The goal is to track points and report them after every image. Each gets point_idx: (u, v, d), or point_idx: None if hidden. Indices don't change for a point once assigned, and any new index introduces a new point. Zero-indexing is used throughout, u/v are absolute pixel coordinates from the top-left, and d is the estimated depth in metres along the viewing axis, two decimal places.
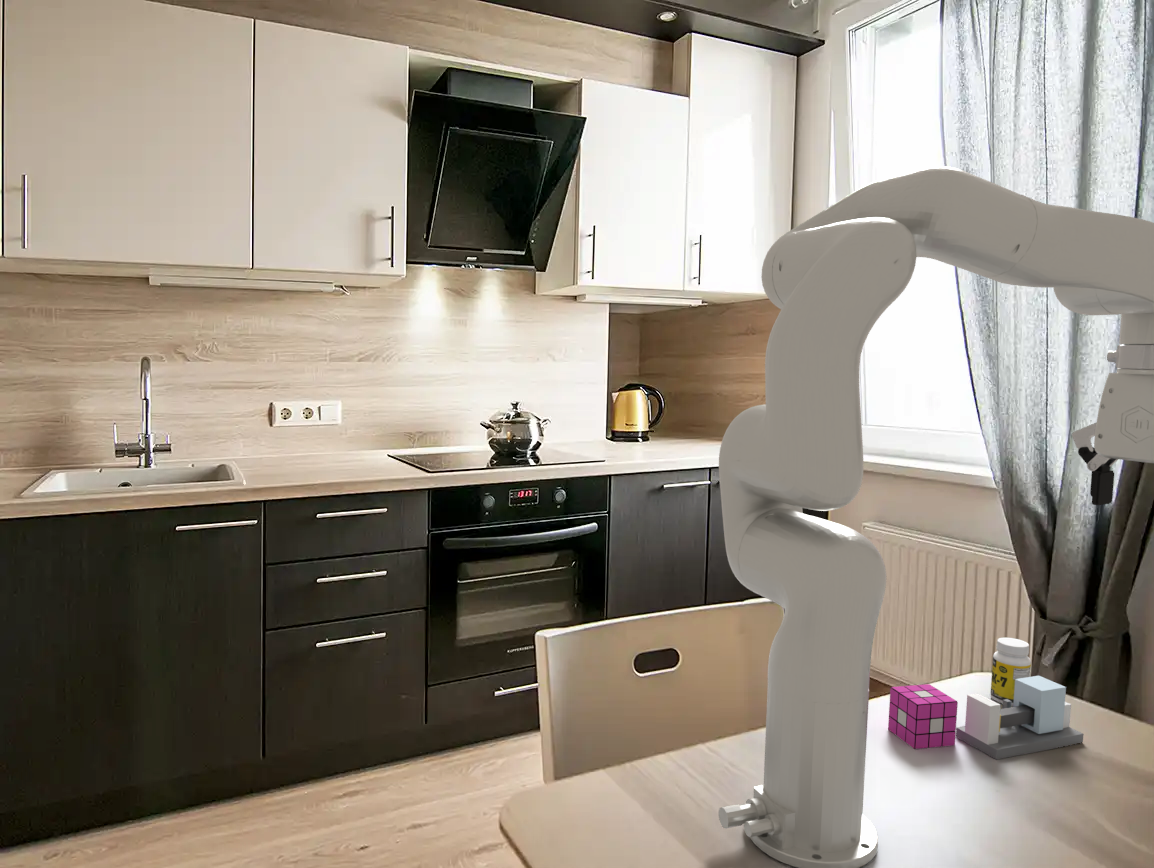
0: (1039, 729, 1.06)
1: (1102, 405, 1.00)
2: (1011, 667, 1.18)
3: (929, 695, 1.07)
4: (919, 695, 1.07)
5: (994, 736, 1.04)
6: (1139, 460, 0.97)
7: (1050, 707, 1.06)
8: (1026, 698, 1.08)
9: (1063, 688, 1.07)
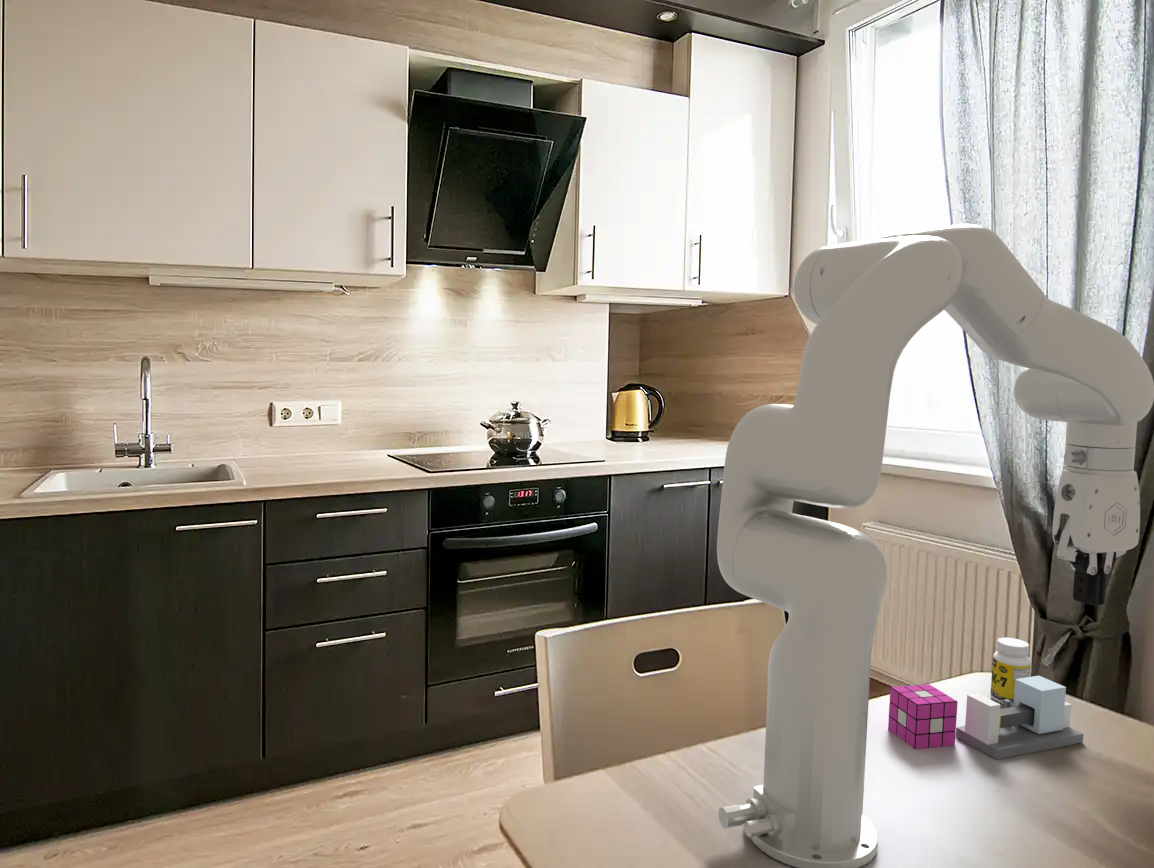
0: (1039, 729, 1.06)
1: (1088, 505, 1.05)
2: (1011, 667, 1.18)
3: (929, 695, 1.07)
4: (919, 695, 1.07)
5: (994, 736, 1.04)
6: (1112, 550, 1.07)
7: (1050, 707, 1.06)
8: (1026, 698, 1.08)
9: (1063, 688, 1.07)
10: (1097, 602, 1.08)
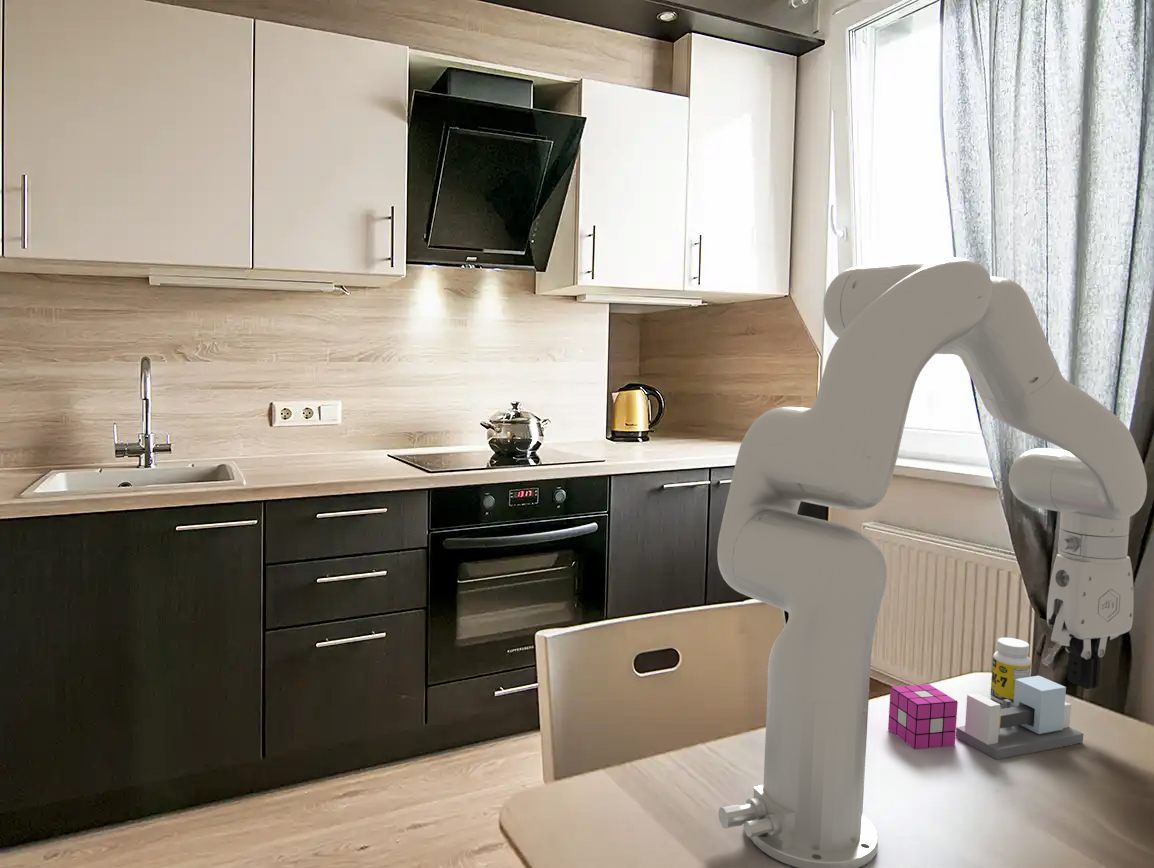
0: (1039, 729, 1.06)
1: (1082, 593, 1.06)
2: (1011, 667, 1.18)
3: (929, 695, 1.07)
4: (919, 695, 1.07)
5: (994, 736, 1.04)
6: (1106, 636, 1.08)
7: (1050, 707, 1.06)
8: (1026, 698, 1.08)
9: (1063, 688, 1.07)
10: (1091, 686, 1.09)
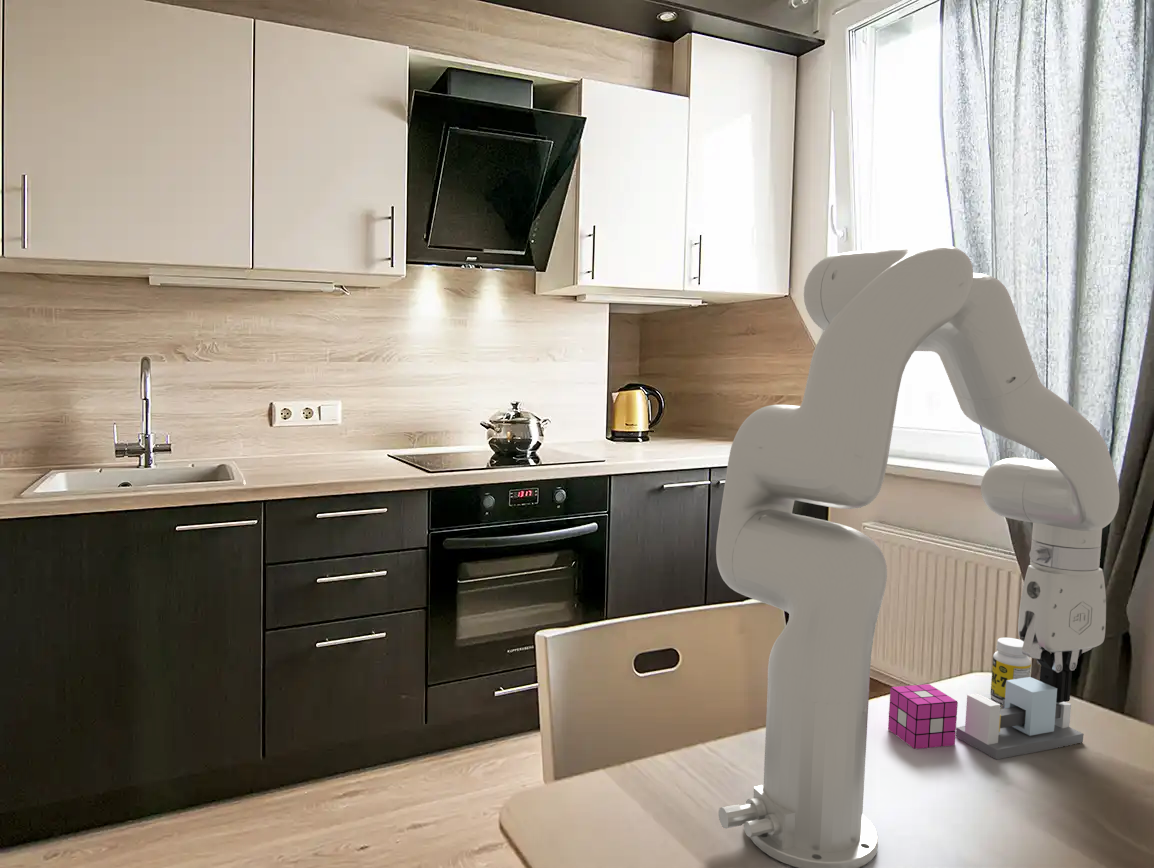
0: (1030, 731, 1.06)
1: (1053, 605, 1.04)
2: (1011, 667, 1.18)
3: (929, 695, 1.07)
4: (919, 695, 1.07)
5: (994, 736, 1.04)
6: (1077, 649, 1.06)
7: (1041, 709, 1.06)
8: (1017, 699, 1.07)
9: (1054, 689, 1.06)
10: (1062, 699, 1.08)
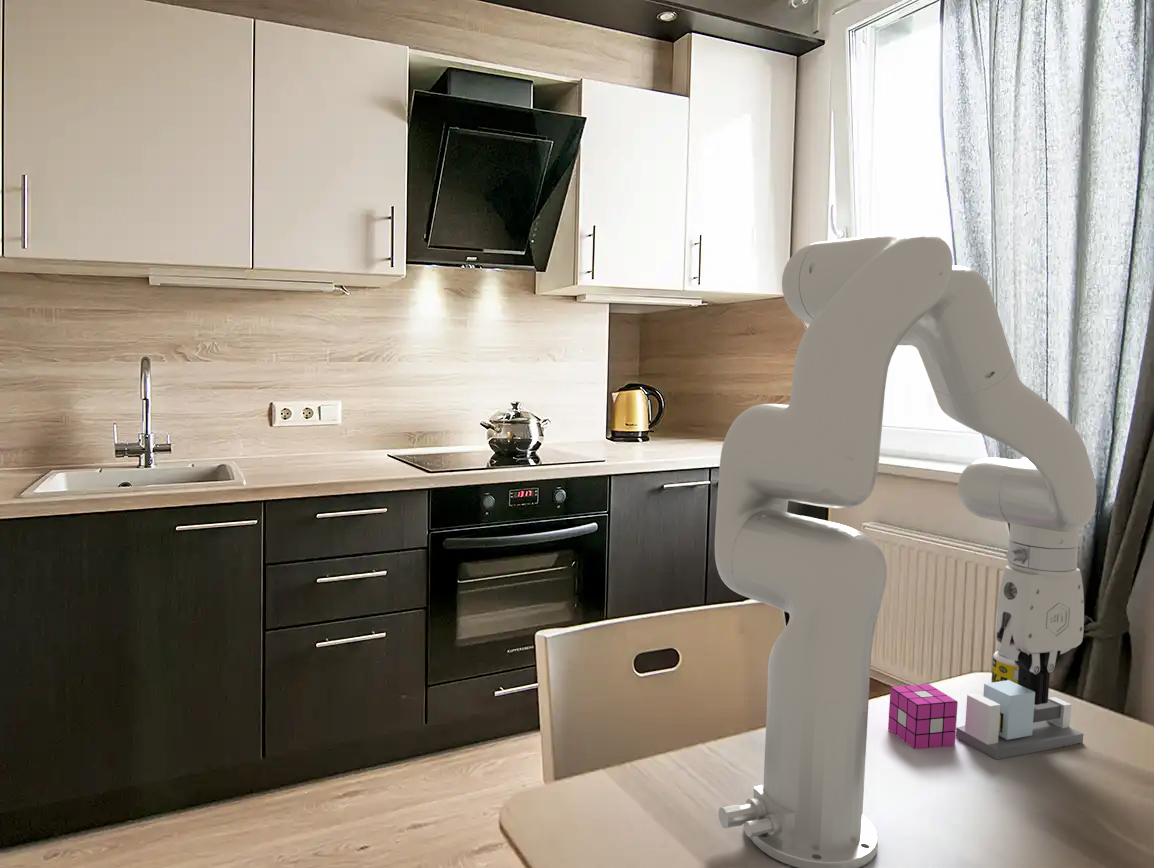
0: (1008, 735, 1.04)
1: (1029, 606, 1.03)
2: (1011, 667, 1.18)
3: (929, 695, 1.07)
4: (919, 695, 1.07)
5: (994, 736, 1.04)
6: (1055, 650, 1.05)
7: (1019, 712, 1.05)
8: None
9: (1032, 693, 1.05)
10: (1040, 701, 1.06)
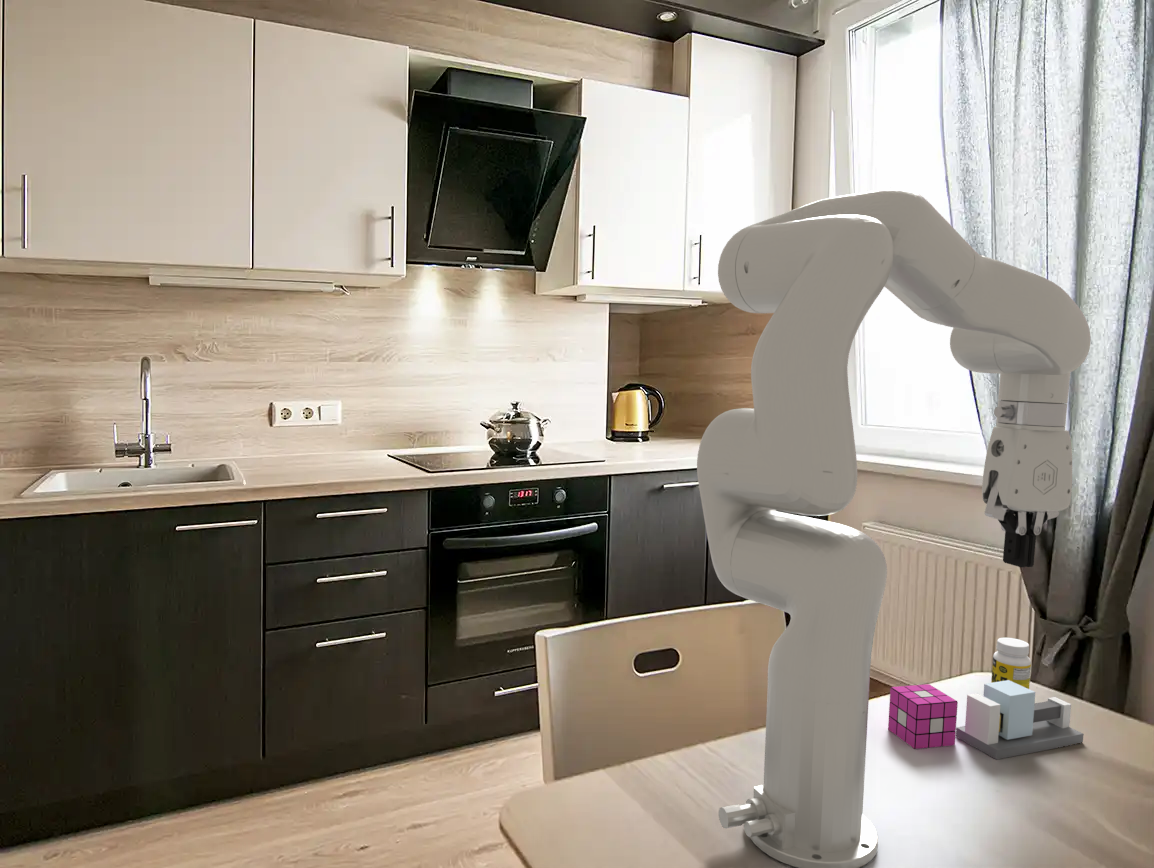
0: (1008, 735, 1.04)
1: (1016, 460, 1.02)
2: (1011, 667, 1.18)
3: (929, 695, 1.07)
4: (919, 695, 1.07)
5: (994, 736, 1.04)
6: (1042, 510, 1.04)
7: (1019, 712, 1.05)
8: None
9: (1032, 693, 1.05)
10: (1026, 564, 1.05)
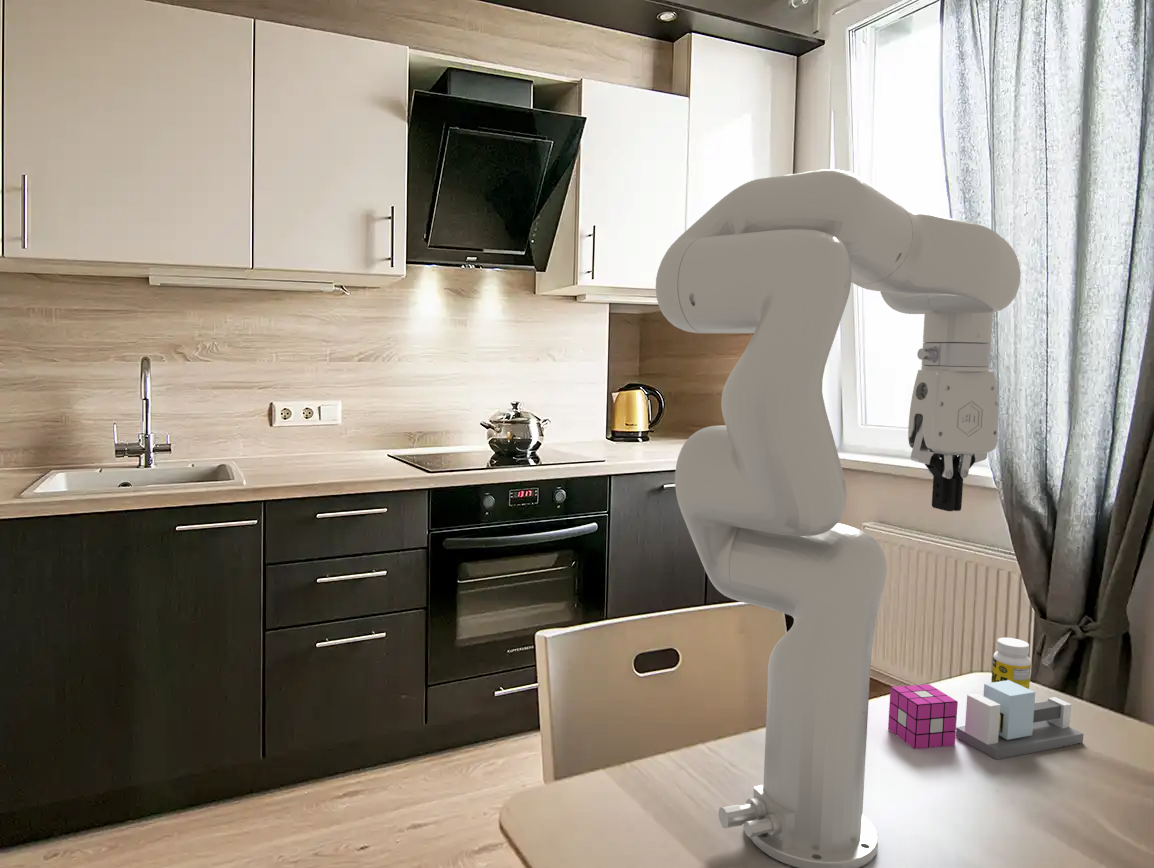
0: (1008, 735, 1.04)
1: (939, 402, 1.00)
2: (1011, 667, 1.18)
3: (929, 695, 1.07)
4: (919, 695, 1.07)
5: (994, 736, 1.04)
6: (967, 452, 1.02)
7: (1019, 712, 1.05)
8: None
9: (1032, 693, 1.05)
10: (953, 507, 1.04)
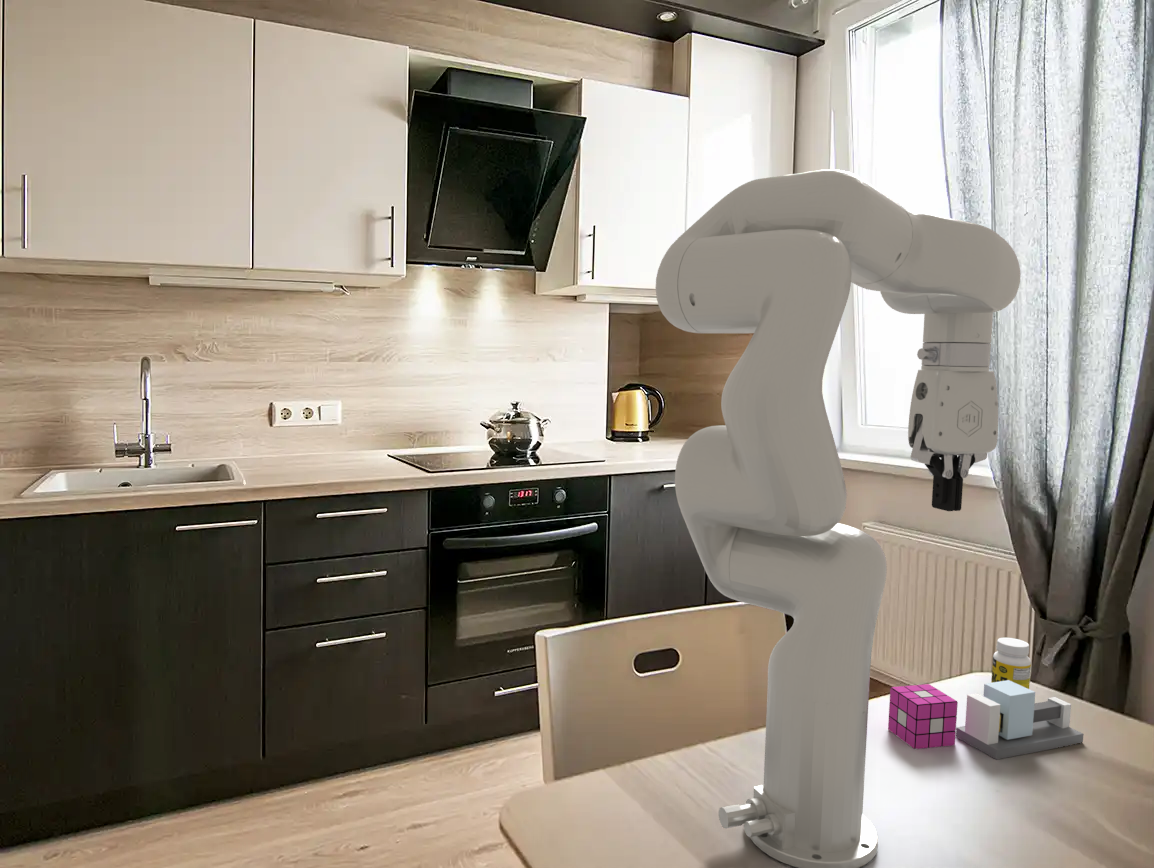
0: (1008, 735, 1.04)
1: (939, 402, 1.00)
2: (1011, 667, 1.18)
3: (929, 695, 1.07)
4: (919, 695, 1.07)
5: (994, 736, 1.04)
6: (967, 452, 1.02)
7: (1019, 712, 1.05)
8: None
9: (1032, 693, 1.05)
10: (953, 507, 1.04)
